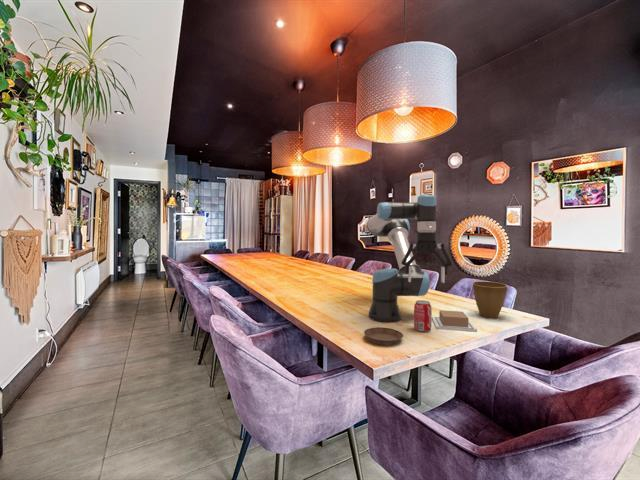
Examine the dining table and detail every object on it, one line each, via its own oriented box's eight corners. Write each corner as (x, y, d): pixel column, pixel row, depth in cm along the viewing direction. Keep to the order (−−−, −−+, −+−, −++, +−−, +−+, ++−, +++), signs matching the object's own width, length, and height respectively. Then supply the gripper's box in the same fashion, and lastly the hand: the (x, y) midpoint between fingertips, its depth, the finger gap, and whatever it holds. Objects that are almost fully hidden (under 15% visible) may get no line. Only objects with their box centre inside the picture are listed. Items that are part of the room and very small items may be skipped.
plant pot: (468, 311, 154) (468, 280, 154) (499, 312, 151) (500, 281, 151) (477, 319, 140) (477, 286, 139) (511, 321, 137) (512, 287, 136)
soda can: (428, 327, 128) (429, 300, 128) (433, 333, 121) (433, 304, 121) (412, 326, 129) (412, 299, 129) (415, 332, 122) (416, 303, 122)
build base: (436, 328, 127) (436, 317, 127) (431, 319, 140) (432, 308, 140) (477, 331, 123) (477, 319, 123) (468, 321, 137) (468, 310, 137)
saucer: (375, 330, 125) (375, 324, 125) (409, 339, 115) (409, 332, 115) (356, 340, 114) (356, 333, 113) (392, 351, 104) (392, 343, 104)
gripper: (397, 231, 123) (396, 282, 123) (460, 231, 119) (459, 284, 120) (395, 231, 130) (394, 279, 131) (454, 232, 127) (454, 281, 127)
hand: (425, 282), depth 125 cm, fingers open, 13 cm apart
